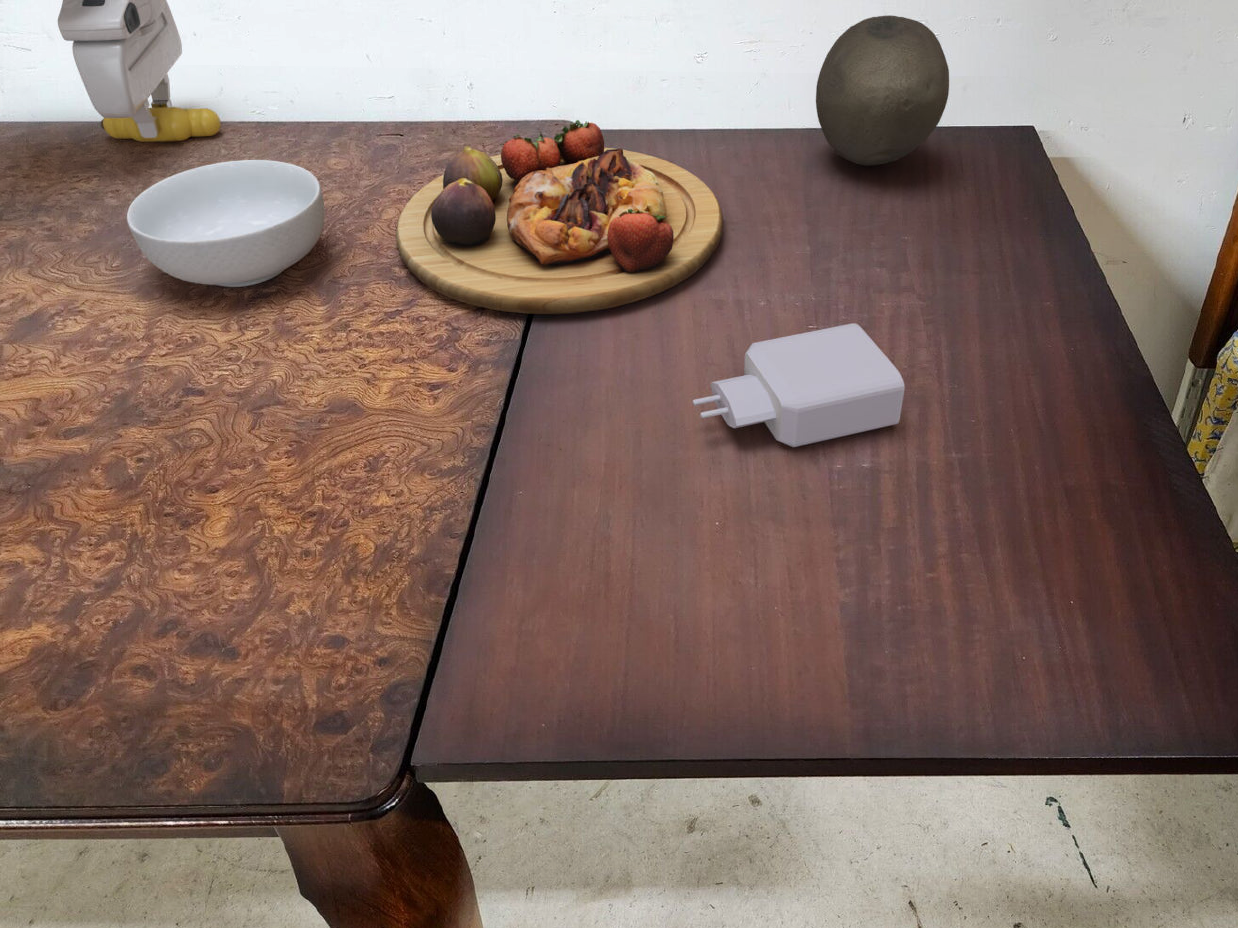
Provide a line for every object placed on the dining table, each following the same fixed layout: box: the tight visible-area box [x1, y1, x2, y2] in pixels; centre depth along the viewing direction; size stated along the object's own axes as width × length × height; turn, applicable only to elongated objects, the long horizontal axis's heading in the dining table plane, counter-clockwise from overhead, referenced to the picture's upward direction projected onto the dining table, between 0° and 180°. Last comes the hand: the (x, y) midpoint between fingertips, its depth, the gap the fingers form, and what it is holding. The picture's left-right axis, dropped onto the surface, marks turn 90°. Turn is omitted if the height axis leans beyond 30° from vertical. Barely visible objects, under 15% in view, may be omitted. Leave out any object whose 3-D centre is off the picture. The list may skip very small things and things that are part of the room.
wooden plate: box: [395, 119, 724, 315], centre depth 105 cm, size 32×32×8 cm
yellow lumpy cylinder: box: [100, 106, 222, 143], centre depth 124 cm, size 13×4×4 cm, turn 94°
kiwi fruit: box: [815, 14, 950, 166], centre depth 114 cm, size 14×14×15 cm
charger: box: [692, 322, 906, 448], centre depth 84 cm, size 5×9×15 cm
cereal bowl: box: [126, 159, 326, 288], centre depth 101 cm, size 17×17×7 cm
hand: (158, 125), depth 123 cm, fingers open, 4 cm apart
